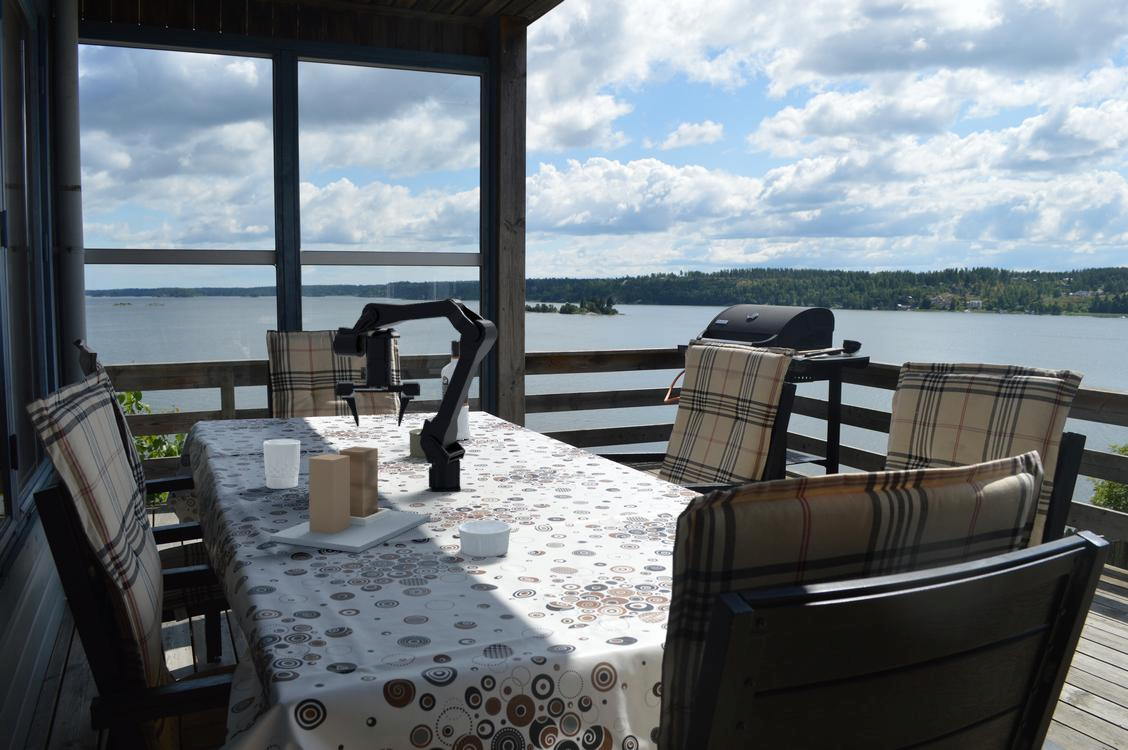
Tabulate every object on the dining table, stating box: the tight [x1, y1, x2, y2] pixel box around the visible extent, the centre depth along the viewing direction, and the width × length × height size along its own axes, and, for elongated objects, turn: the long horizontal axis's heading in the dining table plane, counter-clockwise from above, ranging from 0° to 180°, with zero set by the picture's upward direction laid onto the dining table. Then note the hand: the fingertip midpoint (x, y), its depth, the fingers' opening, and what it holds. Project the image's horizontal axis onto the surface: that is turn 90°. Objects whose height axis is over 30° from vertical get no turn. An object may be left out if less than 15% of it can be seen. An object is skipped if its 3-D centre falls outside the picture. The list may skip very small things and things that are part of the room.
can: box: [408, 428, 427, 461], centre depth 237 cm, size 12×12×7 cm
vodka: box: [440, 339, 471, 441], centre depth 266 cm, size 9×9×30 cm
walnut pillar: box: [338, 446, 379, 518], centre depth 164 cm, size 5×5×13 cm
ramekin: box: [457, 519, 512, 558], centre depth 148 cm, size 9×9×4 cm
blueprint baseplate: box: [269, 453, 431, 554], centre depth 159 cm, size 24×18×14 cm
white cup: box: [262, 438, 301, 490], centre depth 196 cm, size 8×8×10 cm
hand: (378, 426), depth 200 cm, fingers open, 9 cm apart
